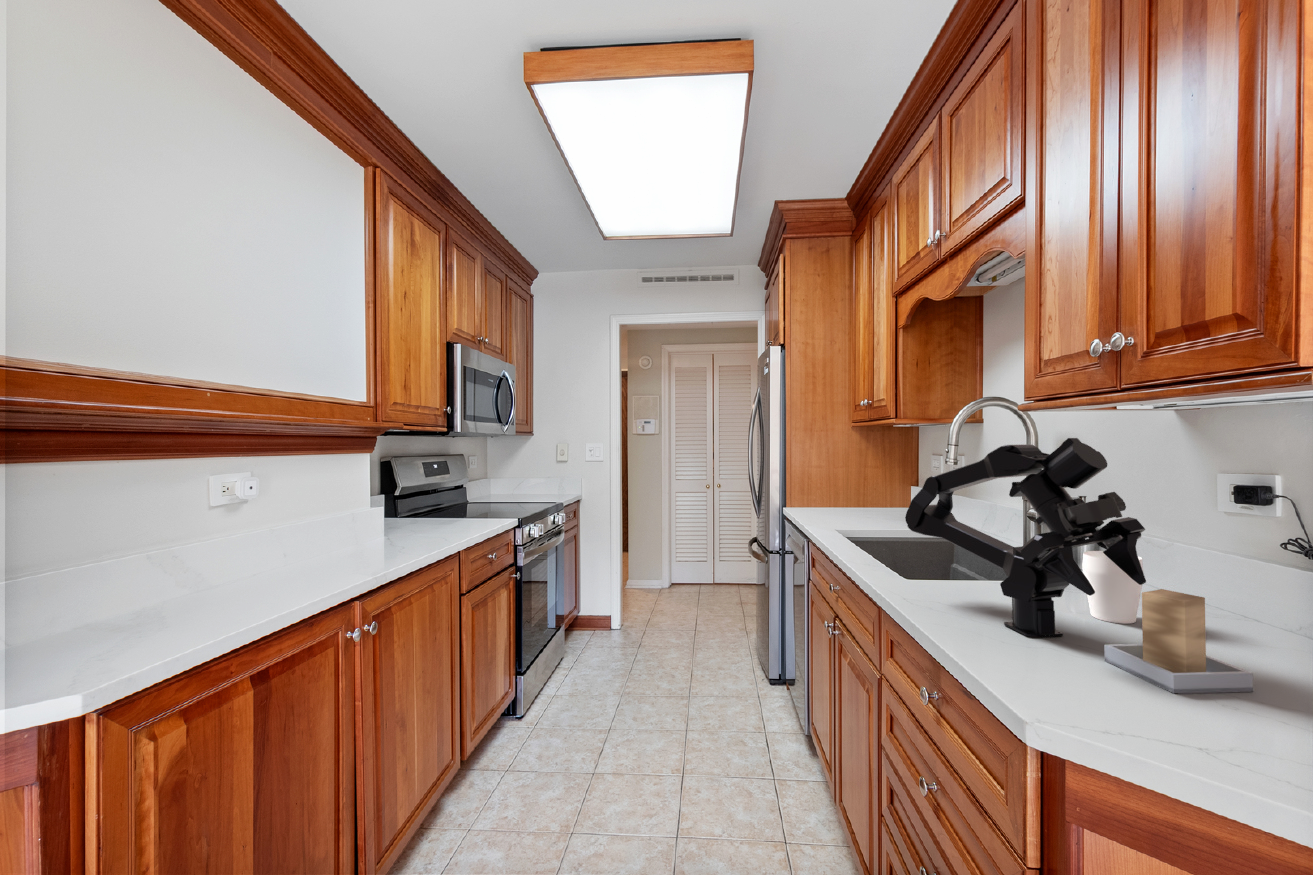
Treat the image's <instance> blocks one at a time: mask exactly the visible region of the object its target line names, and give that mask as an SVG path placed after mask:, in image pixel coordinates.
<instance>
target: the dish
mask: <svg viewBox="0 0 1313 875" xmlns="http://www.w3.org/2000/svg"><path fill="white" fill-rule="evenodd" d="M1103 647H1104V648H1103V649H1104V662H1106V663H1108V664H1110V663H1111V664H1110V665H1113V666H1115V667H1116V668H1119V669H1120V670H1123V671H1125V672H1126V673H1129V672H1130V673H1129V674H1131V673H1132V674H1131V675H1134V676H1136V677H1138V678H1139V679H1142V680H1144V681H1146V682H1148V681H1149V683H1150V682H1151V684H1152V683H1153V684H1152V685H1154V686H1157V685H1158V686H1157V687H1159V686H1160V687H1159V688H1162V689H1163V688H1164V689H1163V690H1165V689H1167V690H1168V692H1169V691H1170V692H1169V693H1171V692H1172V694H1174V693H1178V694H1207V693H1208V694H1212V693H1216V694H1218V693H1220V694H1221V693H1251V692H1254V684H1253V683H1254V676H1253V675H1254V674H1253V672H1250V671H1248V670H1246V669H1243V668H1240V667H1238V666H1235V665H1232V664H1229V663H1228V662H1227V663H1226V662H1225V661H1222V660H1219V659H1216V658H1214V657H1211V656H1208V655H1206V672H1195V673H1172V672H1170V671H1168V670H1165V669H1163V668H1161V667H1159V666H1156V665H1154V664H1152V663H1149V662H1147V661H1145V660H1143V643H1129V644H1128V643H1124V644H1123V643H1122V644H1104V646H1103ZM1167 690H1166V691H1167Z"/></svg>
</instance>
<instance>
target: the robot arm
mask: <svg viewBox="0 0 1313 875" xmlns="http://www.w3.org/2000/svg"><path fill="white" fill-rule="evenodd" d="M1107 467H1108V461H1107V459H1106V457H1105V456H1104V455H1103V453H1101V451H1097V450H1096V449H1095V448H1093V447H1092V446H1090V445H1088V444H1087V443H1084V442H1082V441H1081V440H1080V439H1079V438H1078V437H1068V438H1066V439H1065V440H1063V441H1062V443H1061V445H1060V446H1058V447H1057V448H1056V449H1055V450H1054V451H1052V452H1050V453H1046V452H1043V451H1042V450H1041V449H1040V448H1039V447H1038V446H1035V445H1034V444H1031V443H1029V444H1028V443H1027V444H1004V445H1001V446H999V447H997V448H996V449H995V448H994V449H993V450H992V451H990V452H988V453H987V455H985V457H984V458H982V459H981V460H979V461H975V462H973V463H970V464H967V465H963V466H960V467H958V468H956V469H951V470H949V471H946V472H943V473H940V474H938V475H931V476H928V477H927V478H926V479H925V481H924V483H923V486H922V488H921V489H920V490H919V491H918V492H917V494H915V495H914V497H913V498H911V501H910V504H909V506H908V509H907V511H906V513H905V518H904V519H905V523H906V525H907V528H908V530H910V531H911V532H913V533H917V534H920V535H924V536H929V537H935V538H941V539H943V540H945V541H947V542H949V543H951V544H953V545H955V546H957V547H959V548H961V549H963V550H965V551H967V552H968V553H970V554H973V555H974V556H976V557H979V558H980V559H982V560H985V561H986V562H988V563H990V564H992V565H995V566H996V567H999V568H1000V569H1001V570H1003V572H1004V573H1005V575H1006V576H1007V577H1006V578H1005V579H1003V581H1002V582H1000V583H999V584H1000V588H1001V592H1002V595H1003V596H1005V597H1009V598H1011V618H1012V619H1011V620H1012V621H1004V622H1003V624H1004V626H1006V627H1007V628H1009V629H1012V630H1014V631H1016V632H1018V633H1019V634H1021V635H1023V636H1026V637H1031V638H1032V637H1064V633H1063V632H1062V631H1059V630H1057V629H1056V612H1055V605H1054V604H1055V603H1054V602H1055V601H1054V600H1053V598H1062V597H1063V593H1064V591H1065V589H1066V588H1067V587H1068V586H1069V585H1072V586H1074V587H1075V588H1076V589H1078V590H1079V591H1081V592H1083V593H1085V594H1086V595H1089V596H1090V595H1093V594H1094V593H1095V591H1094V589H1093V587H1092V585H1091V584H1090V582H1089V581H1088V579H1087V578H1086V576H1085V575H1084V574H1083V570H1081V568H1080V567H1079V565H1078V563H1077V562H1076V561H1075V559H1074V552H1073V548H1077V547H1078V548H1079V547H1083V546H1088V545H1093V544H1094V545H1095V544H1097V546H1099V547H1100V548H1103V549H1104V550H1103V551H1104V552H1103V553H1104V554H1105V555H1106V556H1107V557H1108V558H1109V559H1110V560H1112V561H1113V562H1114V563H1115V564H1116V565H1117V566H1118V567H1119V568H1120V569H1121V570H1123V571H1124V572H1125V573H1126V574H1127V575H1128V576H1129V577H1130V578H1131V579H1133V580H1134V581H1135V582H1137V583H1138V584H1139V585H1142V586H1143V585H1144V584H1146V583H1147V580H1146V576H1145V573H1144V570H1143V571H1142V568H1141V565H1140V562H1139V559H1138V556H1139V555H1138V552H1137V541H1138V540H1139V539H1140V538H1142V533H1143V532H1145V531H1146V528H1145V527H1144V525H1143V524H1142V523H1141V522H1140V521H1139V520H1138V518H1133V517H1130V516H1128V517H1123V514H1122V512H1123V511H1126V508H1127V505H1126V503H1125V501H1124V500H1123V498H1121V496H1120V495H1119V494H1118V493H1117V492H1115V491H1111V492H1105V493H1104V494H1099V495H1098V496H1097V499H1096V500H1093V501H1092V500H1091V501H1088V502H1087V501H1086V502H1085V501H1084V500H1083V499H1081V498H1080V497H1079V498H1073V497H1072V496H1071V495H1070V494H1069V493H1068V491H1067V489H1065V488H1069V489H1073V490H1074V489H1075V490H1076V489H1079V488H1080V487H1081V486H1083V485H1084V484H1085V483H1087V482H1088V481H1090V480H1091V479H1092V478H1094V477H1096V475H1098V474H1100V473H1101V472H1102V471H1104V470H1105V469H1106V468H1107ZM1017 477H1018V478H1019V477H1025V478H1023V479H1022V480H1021V481H1013V482H1011V489H1010V490H1009V494H1008V495H1009V497H1010V498H1017V497H1018V498H1019V497H1020V498H1021V497H1022V498H1023V497H1025V499H1026V501H1027V502H1028V503H1029V504H1030V506H1031V507H1032V508H1033V510H1034V511H1035V512H1036V514H1037V515H1038V517H1037V518H1036V519H1035V522H1036V523H1037V525H1039V526H1041V525H1045V526H1046V527H1047V529H1048V531H1049V532H1043V533H1042V532H1041V533H1037V534H1035V535H1033V536H1032V537H1031V538H1030V539H1029V540H1028V541H1027V542H1026V543H1024V544H1023V545H1022V546H1013V545H1011V544H1008V543H1006V542H1004V541H1002V540H999V539H997V538H995V537H993V536H991V535H989V534H986V533H985V532H982V531H981V530H978V529H975V528H973V527H971V526H969V525H967V524H964V523H963V522H960V521H958V520H957V519H956V517H955V515H954V514H953V513H952V510H953V508H954V505H953V503H954V502H953V495H954V492H955V491H959V490H962V489H966V488H969V487H972V486H976V485H979V484H983V483H985V482H989V481H993V480H996V479H1002V478H1003V479H1005V478H1017ZM937 496H938V501H937V503H935V504H931V503H932V502H933V501H934V500H935V499H936V498H937ZM1113 518H1115V519H1113ZM1108 519H1112V520H1110V521H1109V522H1108V523H1106V524H1105V522H1104V521H1106V520H1108ZM1104 524H1105V525H1104ZM1102 525H1104V526H1102ZM1101 526H1102V527H1101ZM1098 527H1099V529H1098V530H1097V528H1098ZM1100 527H1101V528H1100Z"/></svg>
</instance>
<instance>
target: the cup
mask: <svg viewBox="0 0 1313 875" xmlns="http://www.w3.org/2000/svg"><path fill="white" fill-rule="evenodd" d="M1104 551H1105V550H1088V551H1087V550H1086V551H1083V552H1082V553H1083V554H1082V566H1081V568H1082V570H1081V571H1082V572H1083V574H1084V575H1085V576H1086V578H1087V579H1088V581H1089V582H1090V584H1091V585H1092V587H1093V589H1094V591H1095V593H1094V594H1093V595H1090V596H1089V595H1087V594H1086V595H1087V596H1086V597H1087V601H1088V605H1089V607H1088V608H1089V612H1090V615H1091V616H1092V617H1093V618H1095V619H1097V620H1100V621H1104V622H1107V623H1115V624H1123V625H1124V624H1129V625H1131V624H1133V623H1136V622H1137V617H1138V613H1139V612H1138V611H1139V606H1140V598H1141V595H1142V587H1143V584H1142V585H1139V584H1138V583H1137V582H1135V581H1134V580H1133V579H1131V578H1130V577H1129V576H1128V575H1127V574H1126V573H1125V572H1124V571H1123V570H1121V569H1120V568H1119V567H1118V566H1117V565H1116V564H1115V563H1114V562H1113V561H1112V560H1110V559H1109V558H1108V557H1107V556H1106V555H1105V554H1104V553H1103V552H1104ZM1137 556H1138V559H1139V562H1140V565H1141V568H1142V571H1143V572H1144V566H1143V557H1141V556H1139V555H1137Z"/></svg>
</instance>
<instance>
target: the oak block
mask: <svg viewBox="0 0 1313 875" xmlns="http://www.w3.org/2000/svg"><path fill="white" fill-rule="evenodd" d="M1141 610H1142V611H1141V614H1142V615H1141V618H1142V620H1141V621H1142V622H1141V623H1142V625H1141V626H1142V644H1143V660H1145V661H1147V662H1149V663H1152V664H1154V665H1156V666H1159V667H1161V668H1163V669H1165V670H1168V671H1170V672H1172V673H1195V672H1206V656H1207V649H1206V648H1207V647H1206V646H1207V644H1206V643H1207V642H1206V641H1207V640H1206V639H1207V638H1206V633H1207V632H1206V597H1203V596H1199V595H1193V594H1189V593H1185V592H1179V591H1174V590H1170V589H1169V590H1168V589H1164V588H1160V589H1154V590H1149V591H1143V592H1141Z"/></svg>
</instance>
